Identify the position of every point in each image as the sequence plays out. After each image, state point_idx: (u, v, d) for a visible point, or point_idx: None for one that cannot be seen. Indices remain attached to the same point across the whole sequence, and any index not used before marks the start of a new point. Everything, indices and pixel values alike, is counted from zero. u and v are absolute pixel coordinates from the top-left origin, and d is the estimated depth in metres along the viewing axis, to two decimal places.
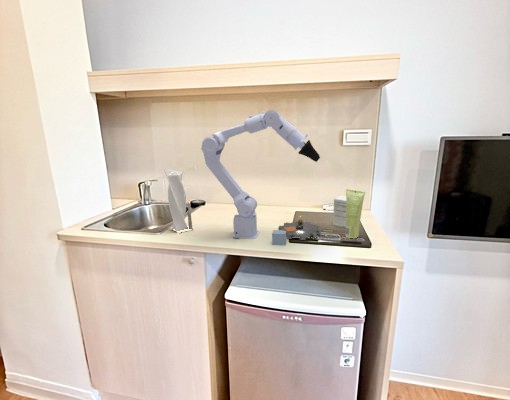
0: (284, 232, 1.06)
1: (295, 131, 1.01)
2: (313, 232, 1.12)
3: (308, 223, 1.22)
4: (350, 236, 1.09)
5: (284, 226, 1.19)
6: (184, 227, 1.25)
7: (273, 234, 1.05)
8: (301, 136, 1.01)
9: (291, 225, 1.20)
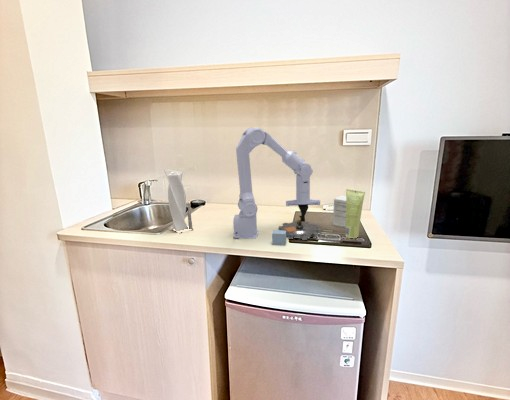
0: (284, 232, 1.06)
1: None
2: (314, 232, 1.12)
3: (307, 223, 1.22)
4: (350, 236, 1.09)
5: (284, 226, 1.19)
6: (184, 227, 1.25)
7: (273, 234, 1.05)
8: None
9: (291, 225, 1.20)
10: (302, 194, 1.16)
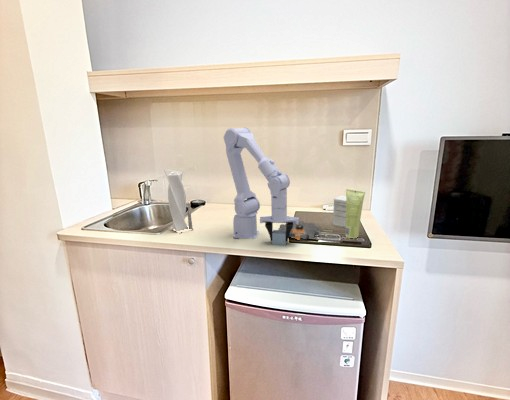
0: (284, 232, 1.06)
1: None
2: (315, 226, 1.18)
3: None
4: (350, 236, 1.09)
5: None
6: (184, 227, 1.25)
7: (273, 234, 1.05)
8: None
9: None
10: (277, 211, 1.02)
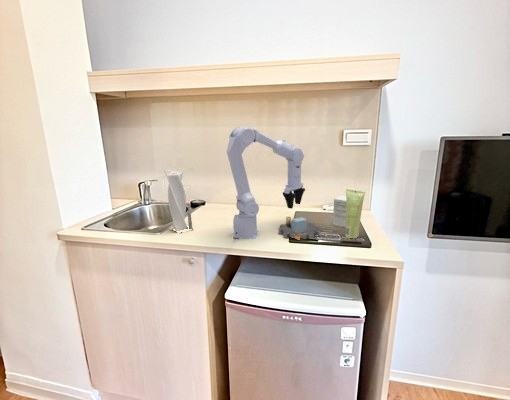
0: (303, 218, 1.12)
1: None
2: (315, 226, 1.18)
3: None
4: (350, 236, 1.09)
5: (288, 231, 1.13)
6: (184, 227, 1.25)
7: (297, 222, 1.10)
8: None
9: (289, 228, 1.16)
10: (299, 178, 1.19)
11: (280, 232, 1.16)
